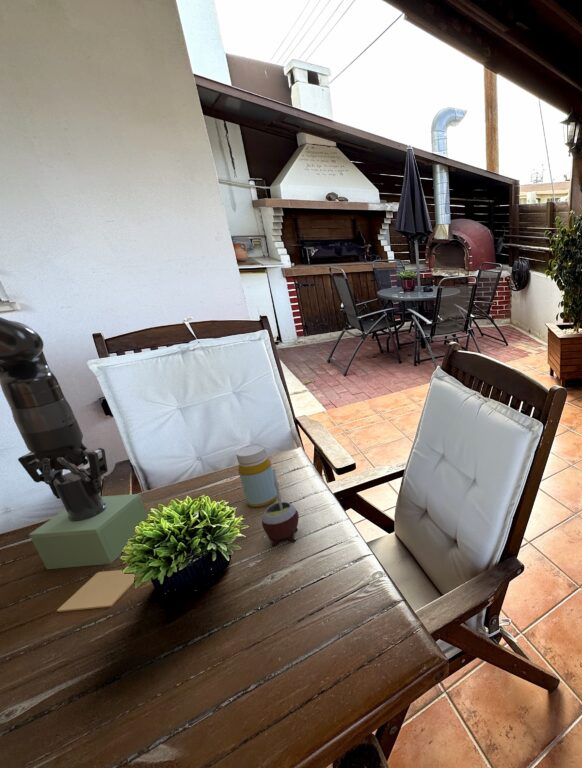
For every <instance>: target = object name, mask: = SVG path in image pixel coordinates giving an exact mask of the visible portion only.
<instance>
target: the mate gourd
mask: <svg viewBox="0 0 582 768" xmlns="http://www.w3.org/2000/svg"><path fill="white" fill-rule="evenodd" d="M272 469H273V476H274V482H275V483H274V485H275V487H276V492H277V496H278V497H277V500H278V501H277V502H276V503H274V504H272V505H270V506H268V507H267V508H266V509H265V511H264V512H263V515H262V517H261V526H262V528H263V531H264V532H265V534H266V535H267V537H268V540H269V541H270V542H271V543H272V544H271V548H276V547H277V546H278V545H280V544H281V543H283V542H284V541H287V542H289V543H292V544H294V543H296V541H297V539H296V538H295V533H296V532H297V531H298V530H299V529H298V525H299V519H300V518H299V517H300V515H299V511H298V510H297V508H296V507H295V505H294V504H292V503H290V502H287V501H283V500H282V498H281V492H280V484H279V482H278V477H277V471H276V468H272Z"/></svg>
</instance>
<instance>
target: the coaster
mask: <svg viewBox="0 0 582 768" xmlns="http://www.w3.org/2000/svg"><path fill="white" fill-rule="evenodd" d="M122 570H123V569H116V570H106V571H105V570H104V571H97V572H96V573H95V574H94V575H93V576H92V577H91V578H89V580H88V581H86V582H85V584H83V585H82V586H81V587H80V588H79V589H78V590H77V591H76V592H74V594H73V595H71V597H70V598H68V599H67V600H66V601H65V602H64V603H62V604H61V606H60V607H58V609H56V613H61V612H72V611H73V612H74V611H83V610H91V609H93V610H95V609H105V608H112V607H114V605H115V604H116V603H117V602H118V601H119V600H120V599H121V598H122V596H123V595H124V594H125V593H126V592H127V591H128V590H129V589H130V588H131V587H132V585H134V584H135V582H134V577H135V575H134V574H124V573H123V572H122Z"/></svg>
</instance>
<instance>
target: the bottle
mask: <svg viewBox="0 0 582 768" xmlns="http://www.w3.org/2000/svg"><path fill="white" fill-rule="evenodd" d="M235 455H236V460H237V462H238V468H237V470H238V475H239V479H240V482H241V485H242V489H243V493H244V496H245V500H246V503H247V505H248V506H249V507H252V508H262V507H266V506H268V505H270V504H273V502H275V501H276V500H277V499H278V496H277V492H276V487H275V485H274V483H275V482H274V476H273V469H274V468H273V465H272V462H271V460H270V459H269V458H268V454H267V450H266V446H265V444H263V443H252V444H247V445H245V446H242V447H240V448H238V449H237V450H236V453H235Z"/></svg>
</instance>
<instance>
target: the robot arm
mask: <svg viewBox="0 0 582 768" xmlns="http://www.w3.org/2000/svg"><path fill="white" fill-rule="evenodd" d="M43 350H44V341H43V338H42V337H41V335H40V334H39V333H38V332H37V331H35V330H34V329H33V328H32V327H30V326H29V325H27V324H25V323H23V322H19V321H16V320H11V319H9V320H8V319H6V318H3V317H1V316H0V388H1V391H2V394H3V396H4V398H5V400H6V402H7V403H8V406H9V408H10V410H11V411H10V412H11V414H12V419H13V421H14V424H15V425H16V427H17V430H18V432H19V434H20V436H21V438H22V440H23V442H24V444H25V446H26V448H27V451H28V452H27V453H26V454H24V455H22V456H19V457H18V458H17V461H18V462H19V463H20V465H21V466H22V467H23V469H24V471H25V472H26V473H27V474H28V475H29V477H31V479H32V480H33V482H34V483H40V482H43V483H44V484H46V485H48V486H49V488H50V491H51V492H52V495H53V496H54V497H56V500H57V499H58V500H61V499H60V497H59V495H58V492H57V490H56V488H55V486H54V484H53V481H54V480H55V479H56V478H58V477H60V476H62V475H64V470H67V471H69V473H70V472H71V473H73V474H74V475H78V476H79V477H80V478H81V479H82V480H83V481H85V482H84V485H85V487H86V490H87V492H88V494H89V496H90V497H93V496H96V495H98V494H99V493H100V494H101V493H102V491H103V488H104V487H103V485H102V483H101V480H100V477H102V476H103V475H104V474H106V473H108V471H109V469H108V462H107V458H106V450H105V448H102V447H98V448H96V449H90V448H88V447H87V446H85V444H84V443H83V438H84V434H83V432H82V429H81V427H80V425H79V423H78V419H77V417H76V416H75V413H74V410H73V408H72V406H71V404H70V403H69V401H68V399H67V398H66V396H65V394H64V391H63V389H62V387H61V384H60V382H59V380H58V378H57V377H56V375H55V373H54V372H53V371H52V370H51V369H50V366H49V364H48V361H47V359H46V356H45V354H44V351H43ZM81 465H82V466H81ZM79 466H80V467H79ZM38 470H39V472H40V473H39V472H38ZM85 470H87V471H88V472H89V473H90V474H87V473H86V472H85Z"/></svg>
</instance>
